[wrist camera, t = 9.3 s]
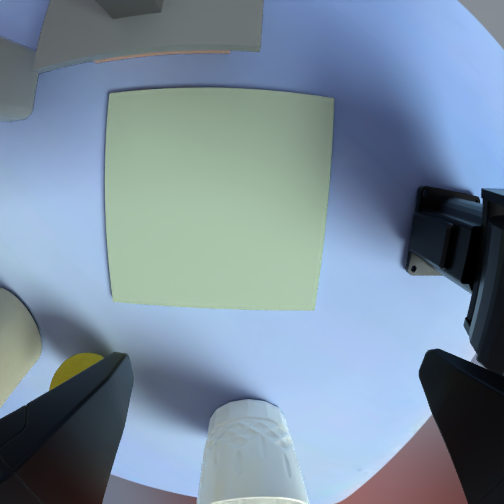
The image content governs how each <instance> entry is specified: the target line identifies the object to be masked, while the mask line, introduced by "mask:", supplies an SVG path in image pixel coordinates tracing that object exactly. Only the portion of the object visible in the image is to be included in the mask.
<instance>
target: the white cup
mask: <svg viewBox="0 0 504 504" xmlns="http://www.w3.org/2000/svg"><path fill="white" fill-rule="evenodd" d="M197 504H309V500H308V496H307V493H306V489H305V485H304V481H303V477H302V474H301V470H300V466H299V462H298V459H297V455H296V453H295V450H294V445H293V442H292V439H291V437H290V434H289V431H288V426H287V422H286V418H285V417H284V415H283V414H282V412H281V411H280V409H279V408H278V407H276V406H274V405H272V404H270V403H268V402H266V401H260V400H252V399H244V400H238V401H232V402H229V403H227V404H225V405H223V406H221V407H219V408H218V409H216V411H215V412H214V414H213V415H212V417H211V418H210V420H209V428H208V436H207V441H206V444H205V448H204V456H203V461H202V466H201V474H200V482H199V489H198V497H197Z"/></svg>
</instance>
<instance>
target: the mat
mask: <svg viewBox="0 0 504 504" xmlns="http://www.w3.org/2000/svg"><path fill="white" fill-rule="evenodd" d="M333 120H334V98H329V97H323V96H316V95H309V94H301V93H292V92H283V91H272V90H259V89H242V88H165V89H149V90H136V91H125V92H116V93H109V102H108V114H107V128H106V147H105V214H106V235H107V249H108V261H109V271H110V281H111V289H112V297H113V302H122V303H134V304H147V305H161V306H176V307H194V308H215V309H243V310H315V303H316V296H317V290H318V282H319V275H320V268H321V260H322V252H323V243H324V235H325V225H326V216H327V206H328V195H329V183H330V170H331V156H332V140H333Z"/></svg>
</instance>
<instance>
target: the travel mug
mask: <svg viewBox="0 0 504 504" xmlns="http://www.w3.org/2000/svg"><path fill="white" fill-rule="evenodd" d="M41 351H42V343H41V337H40V334H39V331H38V328H37V326H36V324H35V322H34V320H33V318H32V316H31V314H30V313H29V311H28V310H27V309H26V307H25V306H24V305H23V304H22V302H21V301H20V300H19V299H18V298H17V297H16V296H14V295H13V294H12V293H10V292H9V291H7V290H5V289H3V288H0V408H1V407H2V405H3V404H4V402H5V401H6V400H7V398H8V397H9V396H10V394H11V393H12V392H13V391H14V389H15V388H16V387H17V385H18V384H19V383H20V382H21V380H22V379H23V378H24V376H25V375H26V374H27V373H28V371H29V370H30V369H31V368H32V366H33V365H34V364H35V363H36V362H37V360H38V359H39V358H40V355H41Z"/></svg>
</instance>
